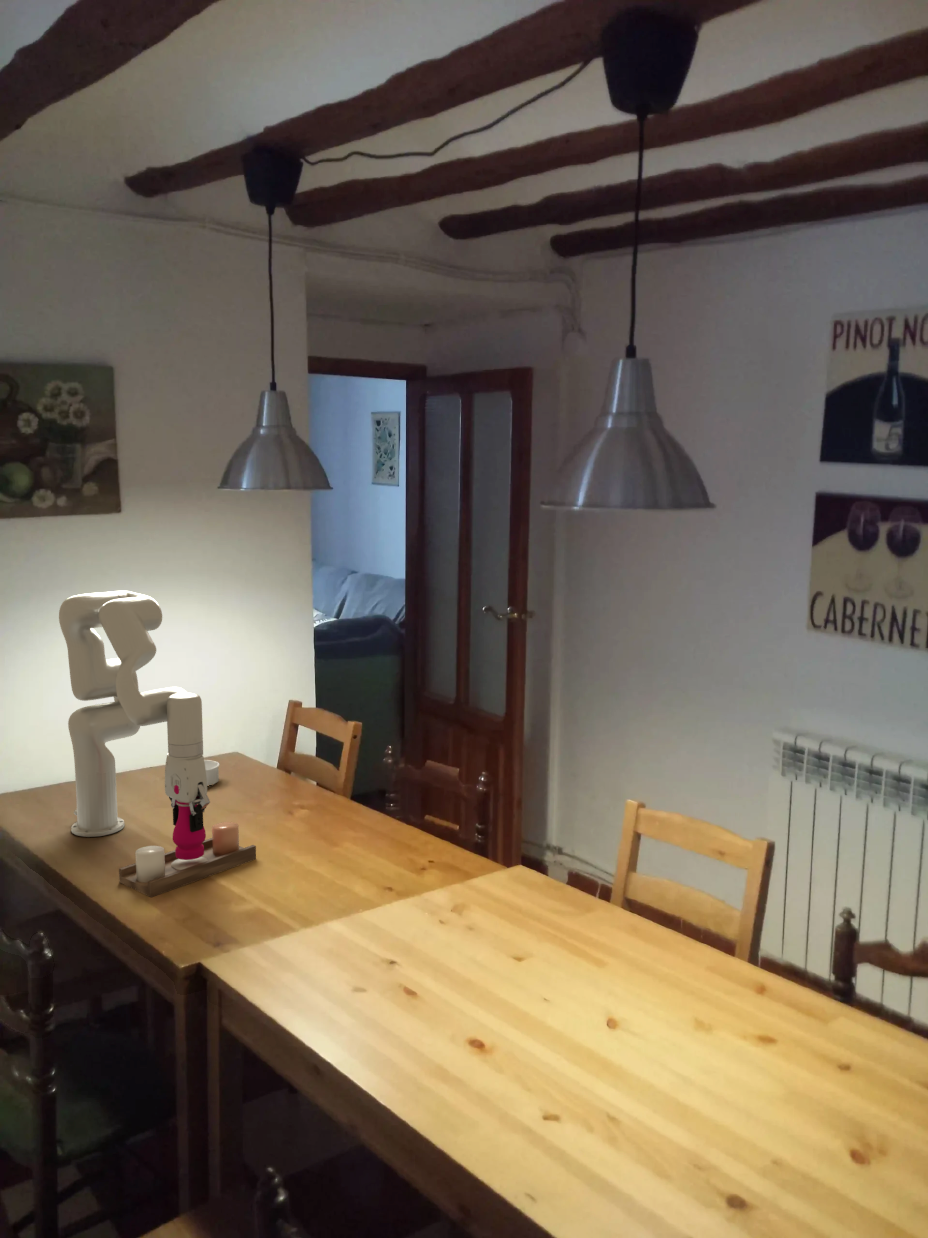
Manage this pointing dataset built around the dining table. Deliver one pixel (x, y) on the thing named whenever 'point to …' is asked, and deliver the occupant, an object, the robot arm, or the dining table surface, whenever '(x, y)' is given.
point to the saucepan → (212, 771)
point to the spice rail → (186, 869)
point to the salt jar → (150, 863)
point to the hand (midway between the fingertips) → (188, 826)
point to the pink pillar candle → (225, 838)
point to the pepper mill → (187, 834)
